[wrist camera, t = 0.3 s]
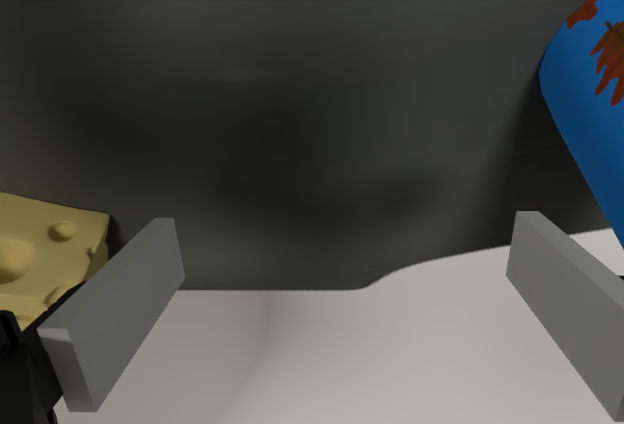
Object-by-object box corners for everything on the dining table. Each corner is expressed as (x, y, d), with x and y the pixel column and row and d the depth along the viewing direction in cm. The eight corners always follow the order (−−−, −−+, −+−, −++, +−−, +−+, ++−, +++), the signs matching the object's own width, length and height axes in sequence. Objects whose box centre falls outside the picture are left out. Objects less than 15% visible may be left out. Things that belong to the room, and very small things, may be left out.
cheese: (112, 211, 39) (75, 306, 33) (111, 260, 47) (82, 344, 41) (-11, 185, 36) (-75, 285, 30) (11, 243, 44) (-37, 331, 38)
